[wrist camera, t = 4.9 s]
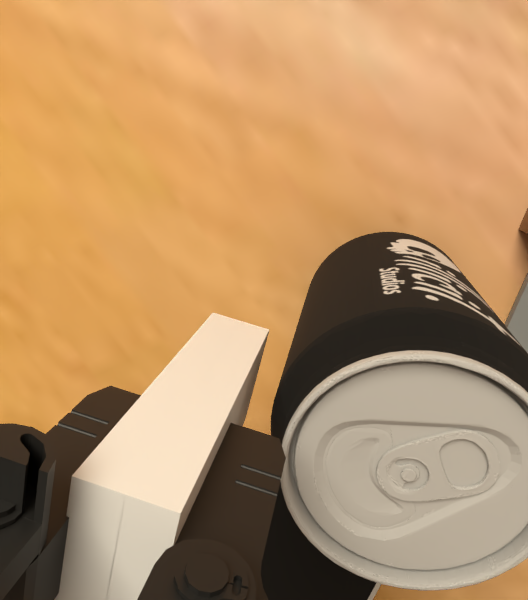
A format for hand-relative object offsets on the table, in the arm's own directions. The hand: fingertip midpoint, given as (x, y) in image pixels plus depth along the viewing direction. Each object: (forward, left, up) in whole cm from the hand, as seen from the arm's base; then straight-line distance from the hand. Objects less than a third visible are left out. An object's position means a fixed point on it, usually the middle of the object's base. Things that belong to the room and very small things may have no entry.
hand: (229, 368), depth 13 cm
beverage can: (+5, 0, -10) cm, 11 cm away
